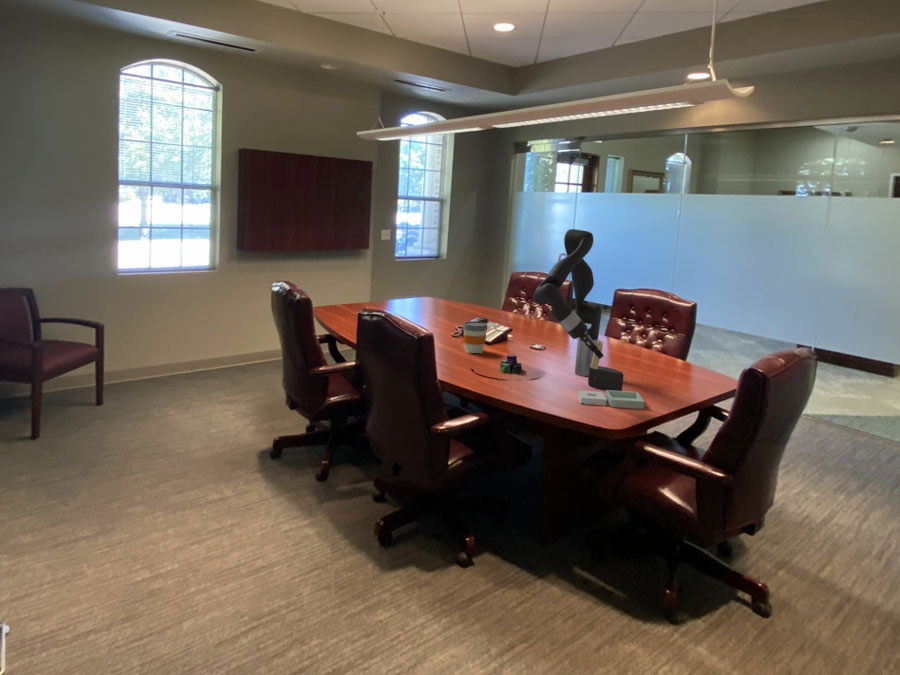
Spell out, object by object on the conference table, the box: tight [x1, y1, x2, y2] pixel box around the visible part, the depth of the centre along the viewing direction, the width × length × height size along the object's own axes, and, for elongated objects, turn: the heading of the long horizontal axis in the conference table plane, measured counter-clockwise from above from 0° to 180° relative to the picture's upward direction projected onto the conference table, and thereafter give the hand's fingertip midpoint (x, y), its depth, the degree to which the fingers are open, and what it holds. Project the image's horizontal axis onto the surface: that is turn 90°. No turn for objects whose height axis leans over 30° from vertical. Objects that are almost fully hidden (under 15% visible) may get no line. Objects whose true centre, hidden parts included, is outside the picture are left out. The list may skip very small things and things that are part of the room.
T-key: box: [591, 339, 604, 369], centre depth 259 cm, size 5×2×11 cm, turn 177°
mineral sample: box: [499, 353, 539, 381], centre depth 304 cm, size 35×35×9 cm
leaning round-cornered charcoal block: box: [587, 365, 624, 391], centre depth 280 cm, size 16×5×9 cm, turn 47°
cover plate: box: [577, 390, 608, 406], centre depth 263 cm, size 10×10×2 cm
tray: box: [604, 390, 645, 410], centre depth 263 cm, size 13×13×3 cm
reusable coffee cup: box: [462, 320, 488, 354], centre depth 337 cm, size 12×13×15 cm
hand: (601, 356), depth 259 cm, fingers closed on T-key, 2 cm apart
